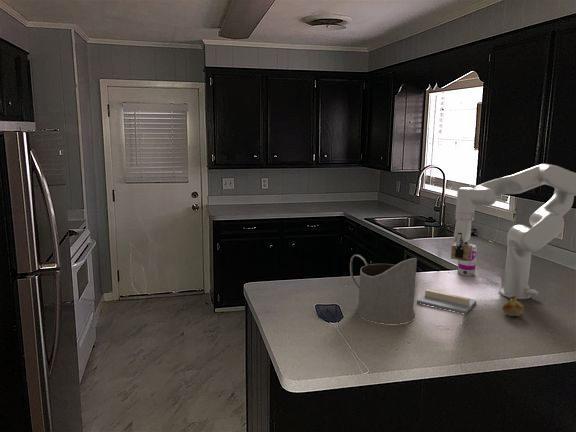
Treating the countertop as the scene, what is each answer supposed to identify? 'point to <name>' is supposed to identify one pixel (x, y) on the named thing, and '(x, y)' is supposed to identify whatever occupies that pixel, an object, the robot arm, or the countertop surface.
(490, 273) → the countertop surface
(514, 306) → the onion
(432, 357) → the countertop surface
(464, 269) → the supplement can
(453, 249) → the saddle block
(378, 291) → the pitcher
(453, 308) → the cleat board
